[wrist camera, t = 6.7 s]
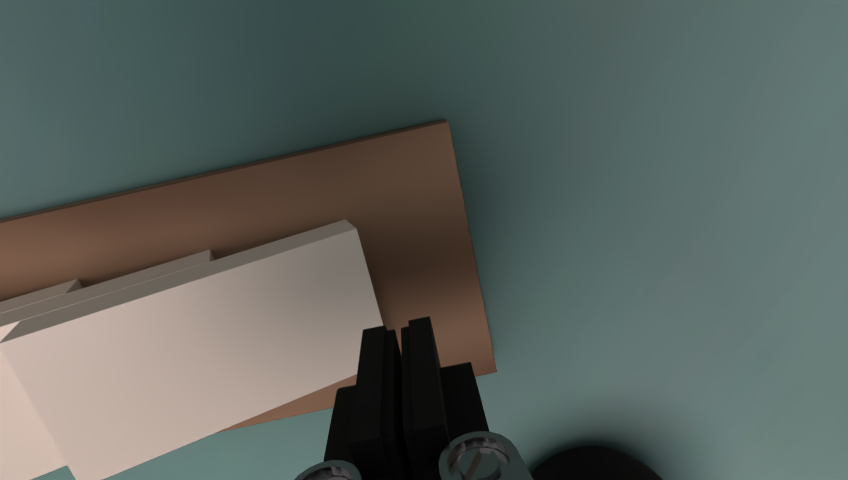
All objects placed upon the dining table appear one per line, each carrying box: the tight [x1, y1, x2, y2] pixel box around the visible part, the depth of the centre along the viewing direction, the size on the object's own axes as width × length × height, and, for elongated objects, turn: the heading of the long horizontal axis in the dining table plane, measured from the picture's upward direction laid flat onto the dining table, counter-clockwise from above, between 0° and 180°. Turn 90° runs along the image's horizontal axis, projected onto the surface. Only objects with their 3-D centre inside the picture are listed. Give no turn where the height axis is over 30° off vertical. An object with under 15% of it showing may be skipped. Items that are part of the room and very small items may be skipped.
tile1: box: [0, 219, 383, 480], centre depth 16 cm, size 2×5×10 cm
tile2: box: [0, 250, 214, 480], centre depth 16 cm, size 2×5×10 cm
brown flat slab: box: [0, 119, 497, 433], centre depth 19 cm, size 10×26×1 cm, turn 102°
